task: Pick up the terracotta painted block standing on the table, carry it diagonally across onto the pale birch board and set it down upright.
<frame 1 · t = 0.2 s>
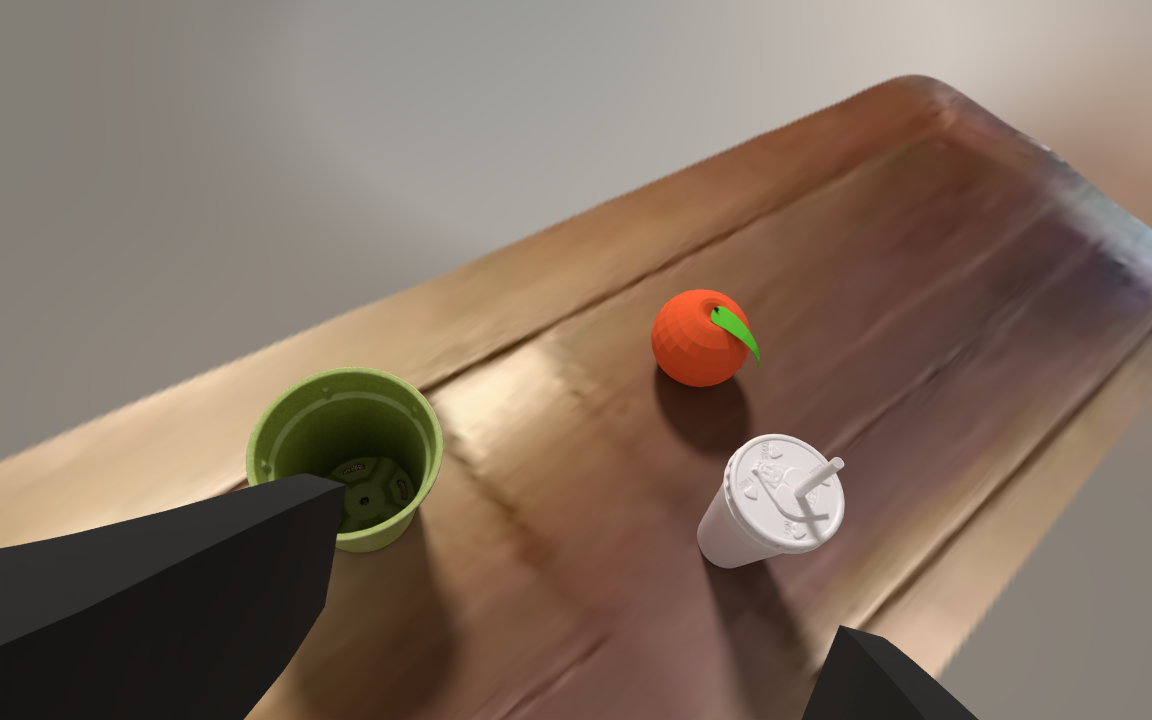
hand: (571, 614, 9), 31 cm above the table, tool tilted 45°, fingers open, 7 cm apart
plant pot: (367, 504, 40), on the table
clementine: (690, 368, 49), on the table
smoothie: (723, 540, 42), on the table
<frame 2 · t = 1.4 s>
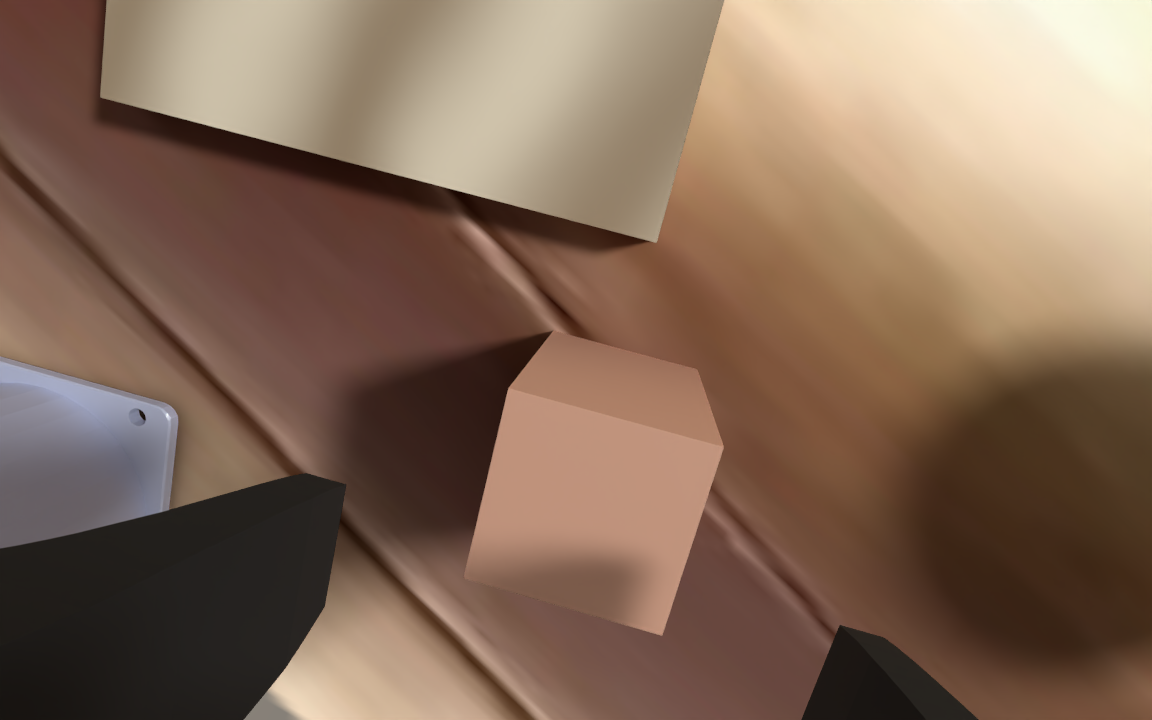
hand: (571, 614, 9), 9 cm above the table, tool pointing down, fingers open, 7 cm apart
block: (606, 418, 18), on the table
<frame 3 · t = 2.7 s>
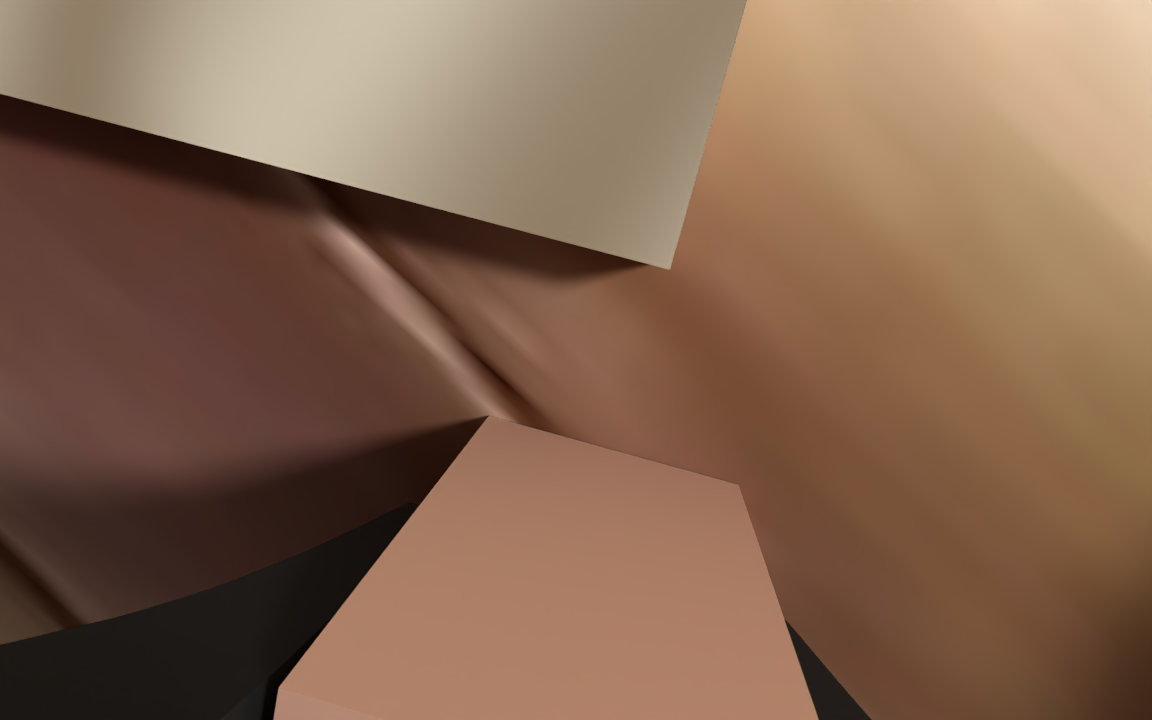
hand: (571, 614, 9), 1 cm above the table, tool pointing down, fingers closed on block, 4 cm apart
block: (580, 561, 11), on the table, touching gripper
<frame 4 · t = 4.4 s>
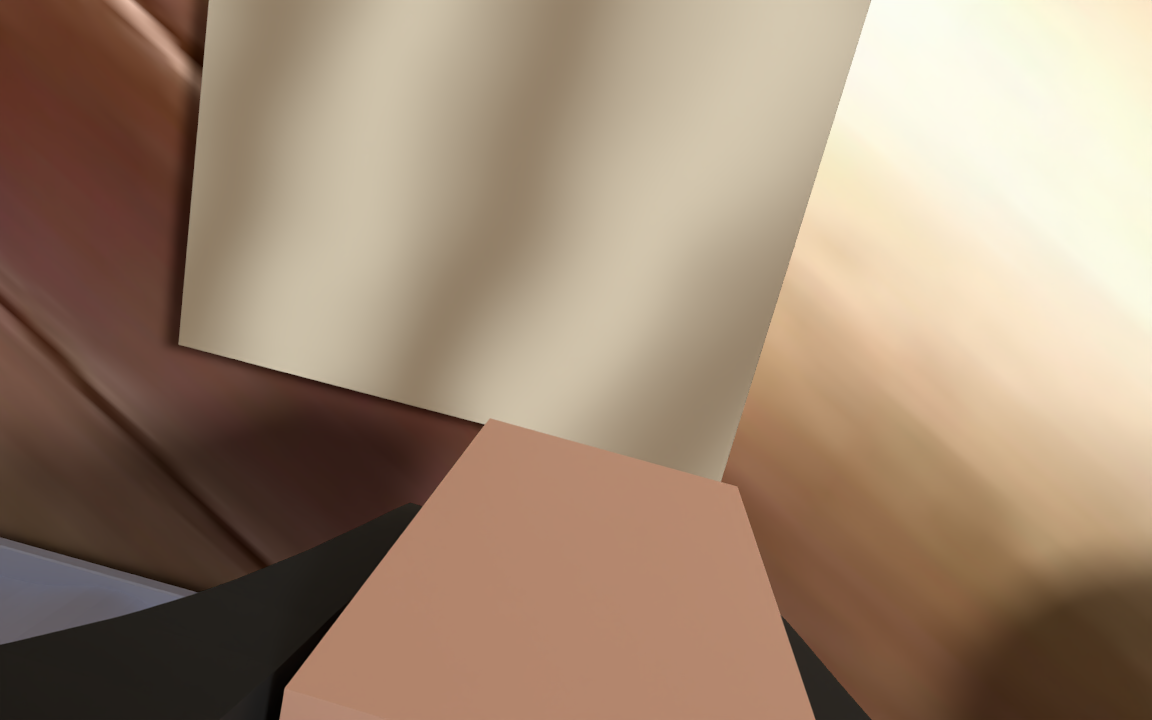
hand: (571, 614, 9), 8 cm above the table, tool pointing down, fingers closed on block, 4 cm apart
block: (581, 562, 11), point 7 cm above the table, touching gripper
board: (513, 131, 16), on the table
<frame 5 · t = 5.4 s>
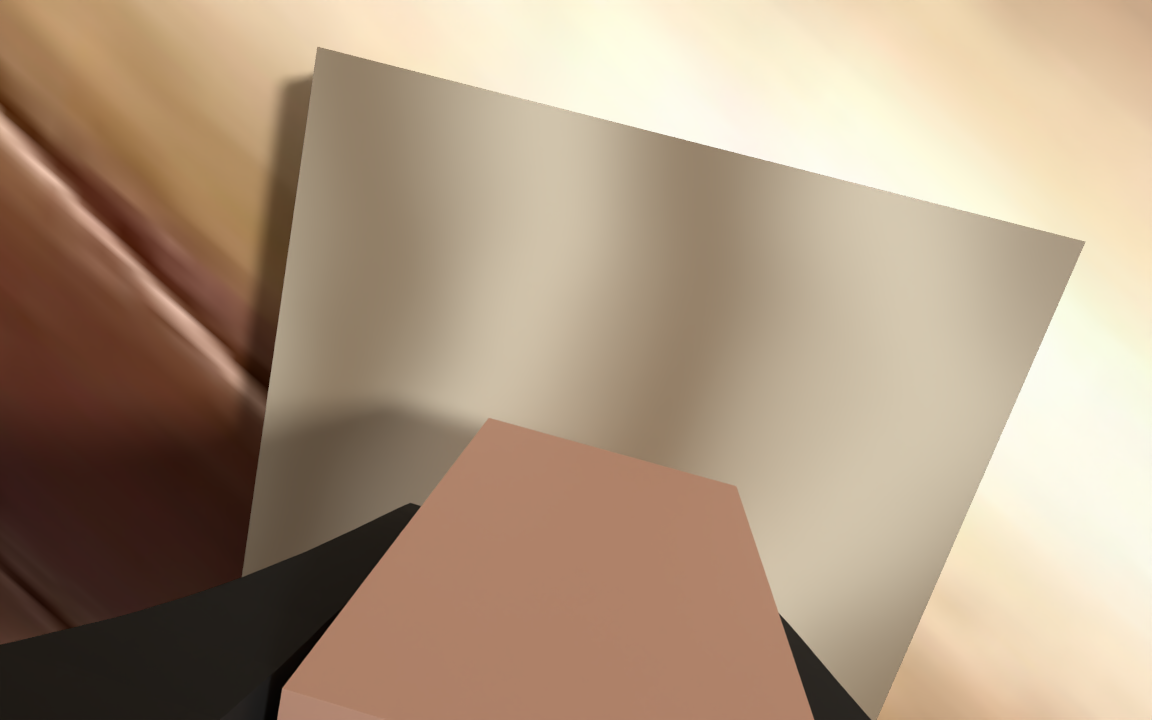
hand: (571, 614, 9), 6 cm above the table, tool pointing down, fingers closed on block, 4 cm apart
block: (580, 562, 11), point 4 cm above the table, touching gripper
board: (597, 466, 15), on the table
when the fingers open (4 cm above the table, at t = 6.0 s): block drops 1 cm, resting on board.
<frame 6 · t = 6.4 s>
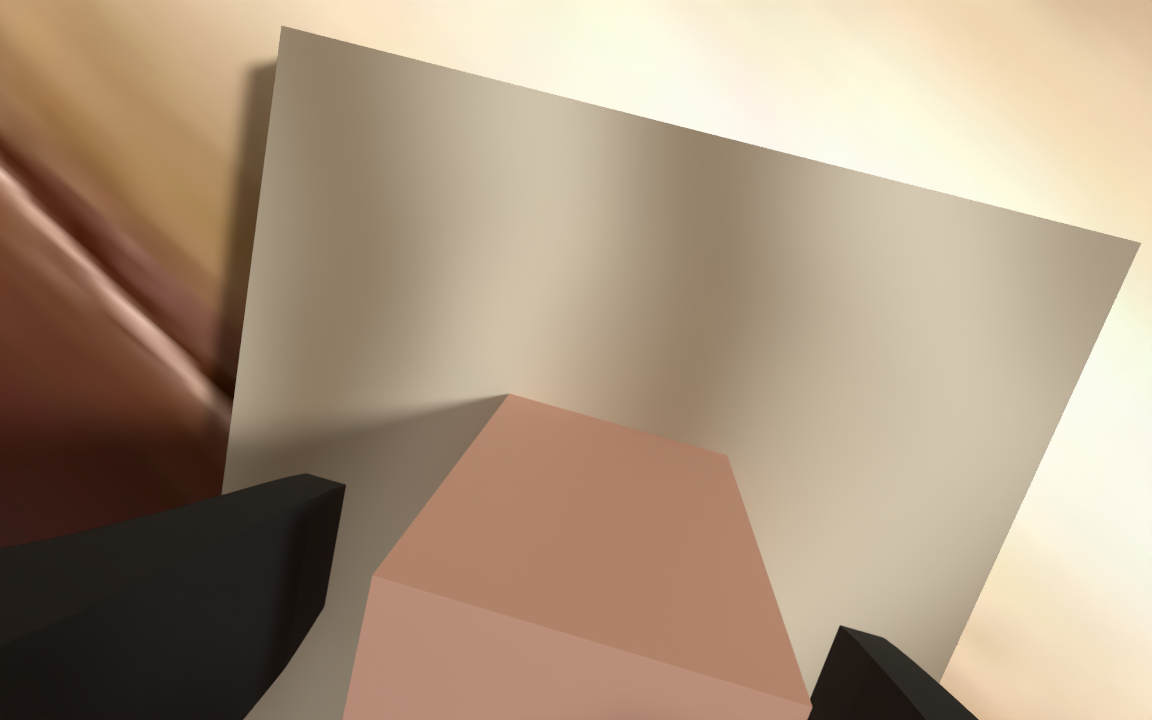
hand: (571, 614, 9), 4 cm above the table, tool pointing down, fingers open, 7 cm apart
block: (588, 523, 12), point 1 cm above the table, touching board
board: (594, 486, 13), on the table
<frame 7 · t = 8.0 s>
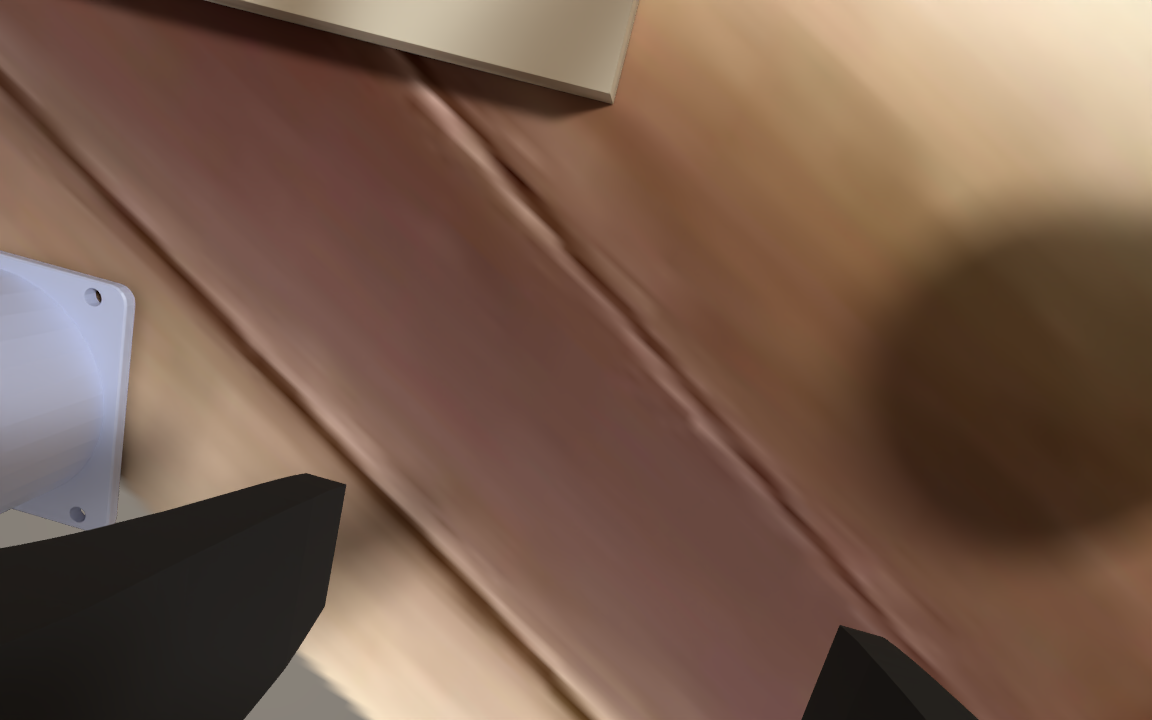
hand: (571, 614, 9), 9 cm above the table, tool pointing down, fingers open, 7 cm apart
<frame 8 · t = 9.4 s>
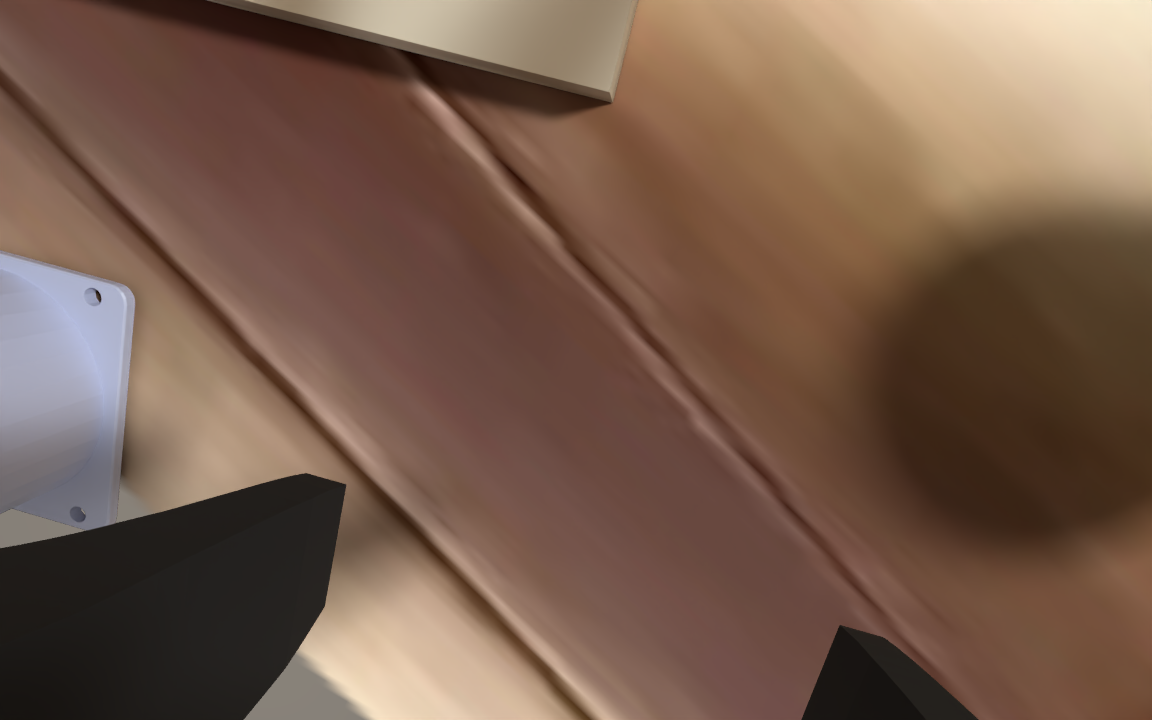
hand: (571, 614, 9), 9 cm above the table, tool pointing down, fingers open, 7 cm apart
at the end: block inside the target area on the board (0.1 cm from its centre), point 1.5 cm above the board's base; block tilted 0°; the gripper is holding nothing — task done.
